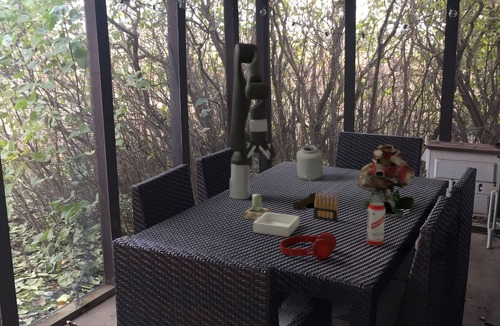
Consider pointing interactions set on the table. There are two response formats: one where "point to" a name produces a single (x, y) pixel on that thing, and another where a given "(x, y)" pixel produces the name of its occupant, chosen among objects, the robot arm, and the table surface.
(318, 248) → the headphones
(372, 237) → the beer can
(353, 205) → the table surface
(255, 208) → the dowel
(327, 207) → the ammunition clip
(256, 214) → the holder
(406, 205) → the rose bouquet
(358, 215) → the table surface
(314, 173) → the jar
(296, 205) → the hand tool
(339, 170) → the table surface
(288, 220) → the tray
